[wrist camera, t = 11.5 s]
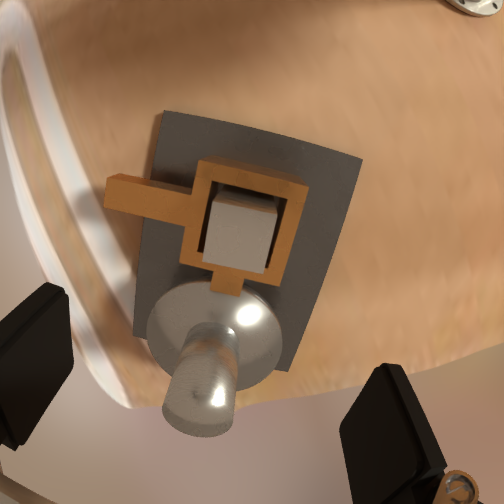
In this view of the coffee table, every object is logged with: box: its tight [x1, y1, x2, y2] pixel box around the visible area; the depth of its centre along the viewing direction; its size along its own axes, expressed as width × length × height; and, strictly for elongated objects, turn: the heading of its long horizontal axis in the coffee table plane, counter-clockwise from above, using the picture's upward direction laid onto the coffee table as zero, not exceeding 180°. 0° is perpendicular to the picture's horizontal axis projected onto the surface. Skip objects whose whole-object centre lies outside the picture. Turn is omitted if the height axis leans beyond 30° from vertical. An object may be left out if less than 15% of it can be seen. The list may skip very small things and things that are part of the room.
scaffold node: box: [103, 110, 363, 437], centre depth 24 cm, size 24×20×15 cm
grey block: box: [202, 184, 277, 274], centre depth 24 cm, size 4×4×9 cm
